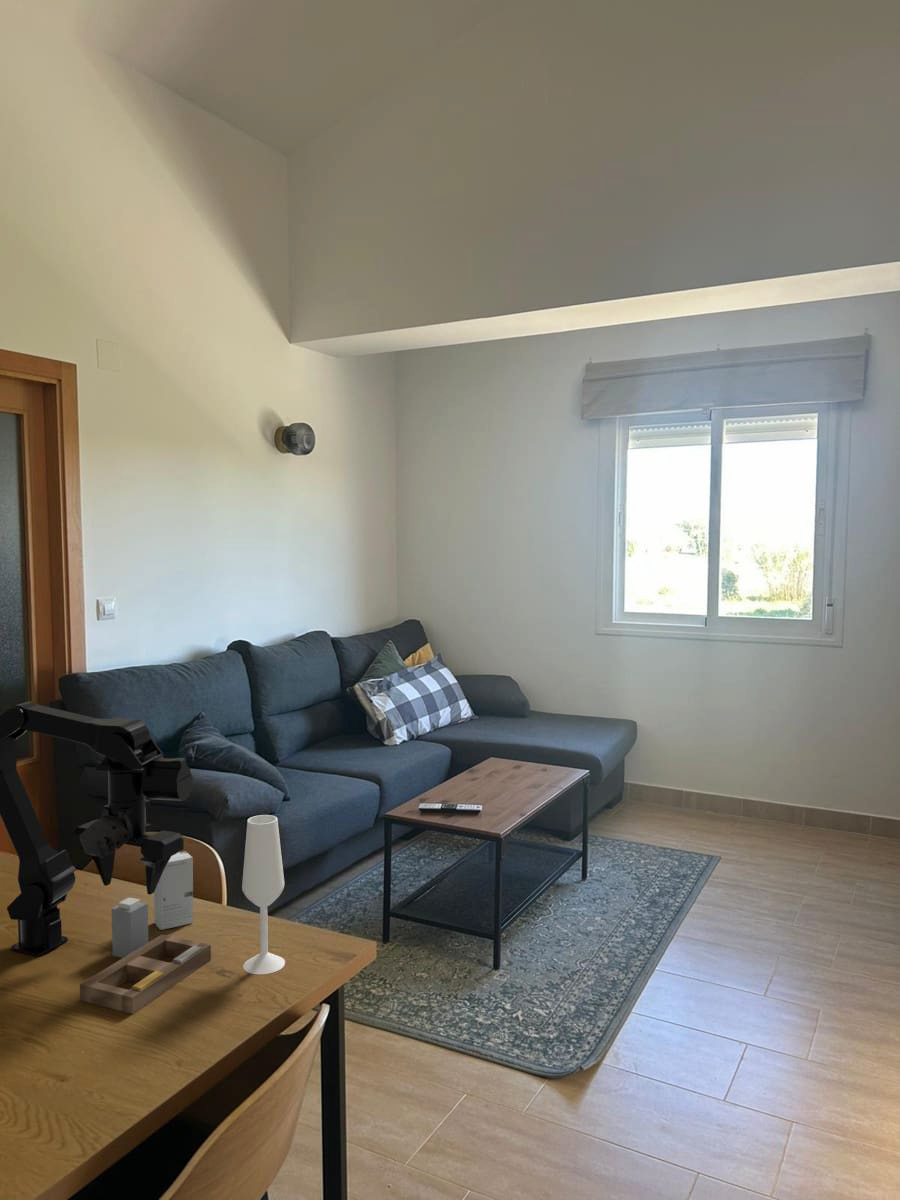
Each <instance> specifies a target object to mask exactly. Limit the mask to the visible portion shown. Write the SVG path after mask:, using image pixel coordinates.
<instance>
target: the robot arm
mask: <svg viewBox="0 0 900 1200" xmlns="http://www.w3.org/2000/svg"><path fill="white" fill-rule="evenodd" d="M146 724H147V723H145V722H144V721H143V720H140V719H138V718H127V717H126V718H125V717H115V718H98V717H92V716H87V715H85V714H84V715H83V714H80V713H75V712H69V711H66V710H63V709H59V708H53V707H49V706H45V705H42V704H38V703H36V702H34V701H25V702H23V703H18V704H16V705H13V706H11V707H9V708H8V709H7V710H5V712H3V713H2V714H0V818H1V820H2V823H3V825H4V828H5V829H6V833H7V834H8V837H9V839H10V841H11V843H12V845H13V849H14V851H15V852H16V855H17V857H18V862H19V863H18V874H17V883H18V886H19V890H20V893H19V895H18V896H17V897H16V898H15V899H14V900H12V902H10V904H9V905H8V906H7V907H6V910H7V913H8V917H9V918H10V920H12V921H13V920H14V921H15V920H16V921H17V935H18V937H17V939H18V941H17V943H14V944H13V945H12V944H11V946H10V950H11V951H14V952H15V951H16V952H19V953H23V954H28V955H33V956H37V957H38V956H39V957H40V956H41V955H43V954H45V953H48V952H50V951H51V950H53V949H54V948H57V947H59V946H60V945H62V944H64V943H66V942H68V940H69V937H68V936H64V935H63V934H62V933H63V932H62V928H63V927H62V918H61V909H60V908H59V907H58V905H60V904H62V903H63V902H65V901H66V899H67V897H68V894H69V893H70V892H71V890H72V889H73V888H74V885H75V883H76V875H75V872H76V871H77V869H76V867H75V866H74V864H72V861H71V858H70V855H69V851H68V850H66V849H63V850H61V851H60V852H58V851H57V850H56V849H54V848H53V847H52V846H51V845H50V843H49V841H48V839H47V837H46V834H45V832H44V830H43V827H42V825H41V823H40V821H39V818H38V816H37V813H36V812H35V809H34V806H33V804H32V802H31V800H30V797H29V795H28V793H27V790H26V788H25V786H24V784H23V780H22V779H21V777H20V775H19V772H18V769H17V763H18V753H19V749H18V746H17V741H16V740H18V738H20V737H21V736H23V735H24V734H25V733H26V732H27V731H28V732H33V733H37V734H41V735H45V736H51V737H52V738H58V739H62V740H67V741H70V742H76V743H79V744H83V745H85V746H88V747H89V748H90V749H91V750H93V751H94V753H96V754H98V755H101V756H102V757H104V758H103V760H102V761H101V762H100V763H99V764H97V765H96V766H95V767H94V770H95V771H96V772H107V773H108V774H107V777H108V778H107V780H108V785H107V786H108V787H107V789H108V804H106V805H103V806H102V810H101V815H100V816H101V817H100V819H99V818H98V819H94V820H91V821H89V822H86V823H83V824H81V825H79V826H76V828H75V830H74V831H73V833H72V837H73V838H72V843H73V844H72V845H74V846H78V849H79V850H80V851H82V852H84V853H85V854H86V855H89V856H90V857H91V858H92V860H93V862H94V864H95V867H96V870H97V871H98V873H99V876H100V879H101V881H102V884H103V886H105V887H107V886H109V885H111V881H112V880H113V879H112V878H113V872H114V867H115V865H114V864H115V856H116V850H119V849H121V847H123V846H124V845H128V846H133V847H140V853H141V855H142V857H141V858H139V861H140V862H142V864H143V865H144V867H145V885H146V892H147V895H152V894H154V891H155V889H156V886H157V884H158V882H159V880H160V877H161V875H162V873H163V871H164V869H165V867H166V865H167V863H168V861H169V860H170V858H171V856H173V855H175V854H177V853H179V852H182V851H183V850H184V848H185V847H184V846H185V845H184V836H183V835H181V833H180V832H176V831H169V830H165V829H163V830H161V831H158V832H157V833H154V834H151V835H147V833H148V832H151V831H152V824H151V823H147V816H146V814H147V813H146V812H147V811H146V810H147V808H150V807H151V806H152V800H159V801H160V800H161V801H162V800H163V801H178V802H179V801H182V802H183V801H186V800H187V799H188V798H189V796H190V794H191V791H192V788H193V783H194V782H193V781H194V780H193V779H194V778H193V777H194V776H193V774H192V771H191V768H190V767H189V765H187V759H186V757H176V758H175V757H174V758H168V757H167V758H165V757H164V756H165V754H164V753H163V751H162V750H161V748H160V747H159V746H158V744H157V743H156V741H155V740H154V739H153V737H152V736H151V733H150V730H149V728H148V726H147V725H146ZM141 752H142V753H141ZM138 753H141V755H139V756H137V755H136V754H138ZM146 798H148V799H146Z"/></svg>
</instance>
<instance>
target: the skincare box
mask: <svg viewBox="0 0 900 1200" xmlns="http://www.w3.org/2000/svg"><path fill="white" fill-rule="evenodd" d="M193 858H194V857H193V856H191V855H190V854H189V853H188V852H187V851H179V852H177V854H175V855H173V856H171V858H170V860H169V861H168V863H167V865H166V867H165V869H164V871H163V873H162V875H161V877H160V880H159V882H158V884H157V886H156V889H155V891H154V893H153V912H154V913H153V922H154V923H155V925H156V927H157V928H158V930H159V931H161V930H162V931H163V930H167V929H171V928H175V927H176V928H177V927H182V926H185V925H186V926H187V925H190V924H192V923H193V922H194V896H193V895H194V894H193V893H194V878H193V876H194V875H193V873H194V872H193V871H194V866H193V865H194V863H193V862H194V859H193Z"/></svg>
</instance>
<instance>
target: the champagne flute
mask: <svg viewBox="0 0 900 1200" xmlns="http://www.w3.org/2000/svg"><path fill="white" fill-rule="evenodd" d="M278 820H279V819H278V817H277V816H275V815H271V814H260V815H255V816H251V817H249V818H248V819H247V821H246V834H245V835H246V837H245V847H244V858H243V859H244V860H243V861H244V862H243V870H242V871H243V872H242V883H241V885H242V886H241V890H242V892H243V894H244V895H245V897H246V898H247V900H249V901H250V902H251V903H253V904H254V905H255V906H257V907H258V908H259V930H260V931H259V934H260V936H259V938H260V947H259V948H260V950H259V951H260V953H257V954H256V955H254V956H252V957H251V958H249V959H247V960H246V961H244V963H243V967H242V968H243V970H244V971H245V972H247V973H248V974H253V975H267V974H268V975H270V974H272V973H275V972H278V971H280V970H281V969H283V968H284V967H285V964H286V960H285V959H284V958H283V957H281V956H280V955H277V954H273V953H272V952H269V947H268V946H269V943H268V942H269V941H268V939H269V936H268V935H269V934H268V933H269V932H268V930H269V929H268V907H269V906H271V905H272V904H273V903H274V902H275V901H276V900H277V899H278V898H279V897H280V896H281V894H282V893H283V891H284V888H285V877H284V869H283V867H284V866H283V858H282V849H281V848H282V847H281V840H280V831H279V821H278Z"/></svg>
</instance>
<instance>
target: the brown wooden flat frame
mask: <svg viewBox="0 0 900 1200" xmlns="http://www.w3.org/2000/svg"><path fill="white" fill-rule="evenodd" d="M165 956H169V957H174V958H173V959H172V961H170V962H168V961H164V960H160V959H162V958H163V957H165ZM211 960H212V945H211V944H210V943H203V942H201V941H194V940H191V939H184V938H181V937H176V936H171V935H167V934H160V935H158V936H157V937H156V938H153V939H152V940H151V941H149V943H147V944H145V945H144V946H142V947H140V948H139V949H137V950H135V951H134V952H132V953H130V954H129V955H127V956H126V957H124V958H121V959H119V960H118V961H116V962H114V963H112V964H111V965H109V966H108V967H105V968H104V969H102V970H101V971H99V972H97V973H96V974H95V975H93V976H91V977H89V978H88V979H86V980H84V981H83V982H81V983H80V984H79V996H80V997H79V1000H80V1001H81V1002H85V1003H87V1004H88V1003H89V1004H93V1005H96V1006H101V1007H104V1008H108V1009H111V1010H115V1011H119V1012H123V1013H127V1014H129V1015H130V1014H131V1015H135V1013H137V1012H139V1011H140V1010H141V1009H143V1008H144V1007H145V1006H148V1004H149V1003H152V1001H154V1000H155V999H157V998H158V997H160V996H161V995H162V994H164V993H166V992H167V991H169V989H172V988H173V987H174V986H176V985H177V984H178V983H179V982H181V981H183V980H184V979H185V978H187V977H188V976H190V975H191V974H193V973H194V972H196V971H197V970H199V969H200V968H201V967H203V966H204V965H206V964H207V963H209V961H211ZM126 981H130V982H133V983H134V982H135V984H133V985H132V987H131V988H130V989H126V988H123V987H118V986H120V985H121V984H123V983H124V982H126Z"/></svg>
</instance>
